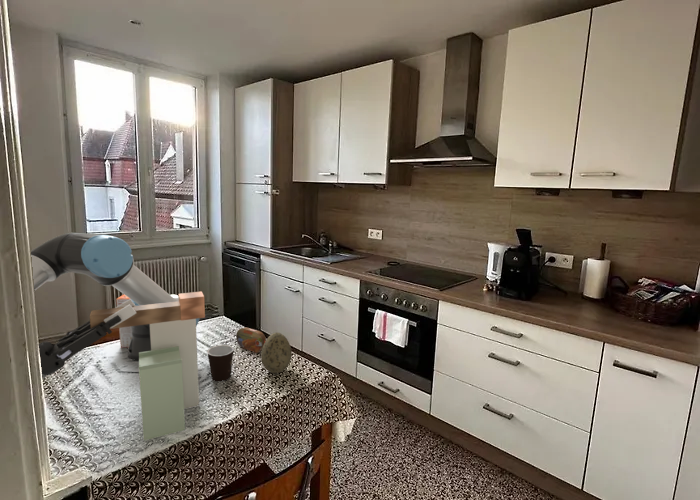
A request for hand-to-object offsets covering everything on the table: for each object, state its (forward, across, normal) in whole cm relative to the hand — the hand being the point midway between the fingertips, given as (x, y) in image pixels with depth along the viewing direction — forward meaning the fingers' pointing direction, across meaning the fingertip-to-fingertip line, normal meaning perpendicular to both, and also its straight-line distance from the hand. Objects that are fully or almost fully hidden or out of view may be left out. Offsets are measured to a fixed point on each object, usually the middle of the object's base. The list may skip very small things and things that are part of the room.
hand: (133, 306), depth 97 cm
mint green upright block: (-13, 0, -34) cm, 36 cm away
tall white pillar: (-10, -11, -36) cm, 39 cm away
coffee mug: (+4, -22, -44) cm, 49 cm away
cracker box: (-20, -66, -30) cm, 75 cm away
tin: (+17, -39, -51) cm, 66 cm away
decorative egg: (+20, -17, -53) cm, 59 cm away
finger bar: (+1, 0, -6) cm, 6 cm away
